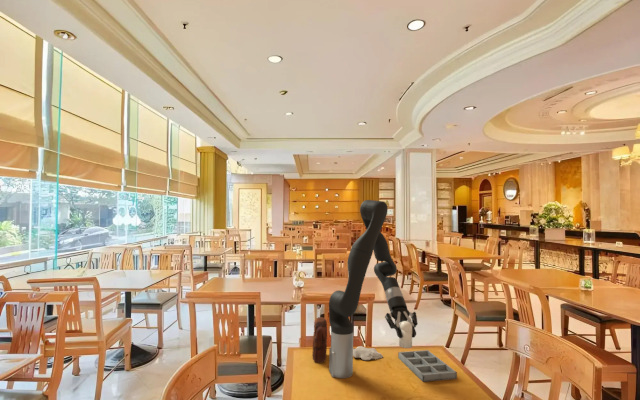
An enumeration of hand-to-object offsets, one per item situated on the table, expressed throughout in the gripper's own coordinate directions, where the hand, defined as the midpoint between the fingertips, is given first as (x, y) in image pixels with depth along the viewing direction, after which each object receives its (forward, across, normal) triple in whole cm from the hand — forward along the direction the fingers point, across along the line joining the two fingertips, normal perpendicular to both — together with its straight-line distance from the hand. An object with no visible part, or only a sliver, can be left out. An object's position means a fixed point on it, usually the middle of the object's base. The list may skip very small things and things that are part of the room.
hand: (407, 336), depth 137 cm
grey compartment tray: (+7, +12, +16) cm, 21 cm away
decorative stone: (-4, -9, +28) cm, 30 cm away
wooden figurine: (-5, -32, +29) cm, 43 cm away
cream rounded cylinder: (+2, 0, +4) cm, 5 cm away
